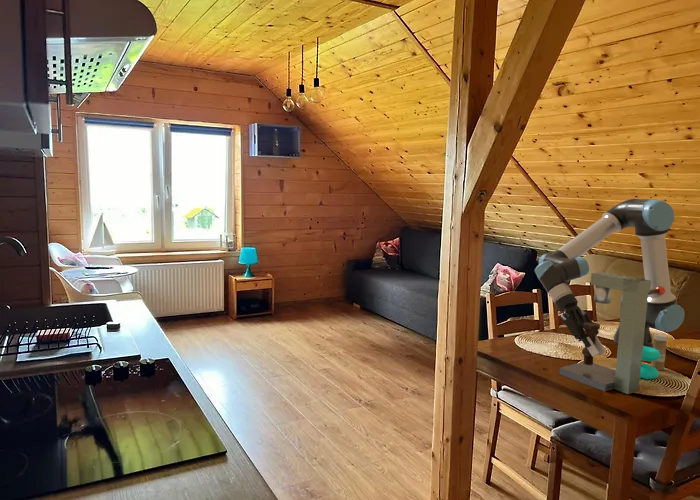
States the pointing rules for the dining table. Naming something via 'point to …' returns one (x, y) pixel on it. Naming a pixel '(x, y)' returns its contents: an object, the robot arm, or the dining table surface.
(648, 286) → the press
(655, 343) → the sprinkles bottle
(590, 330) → the bolt
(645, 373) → the donuts
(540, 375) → the dining table surface
